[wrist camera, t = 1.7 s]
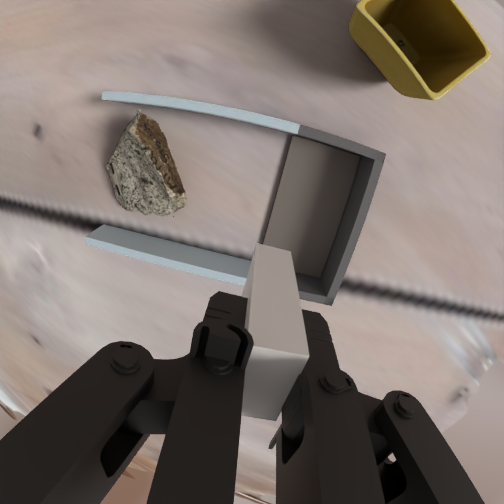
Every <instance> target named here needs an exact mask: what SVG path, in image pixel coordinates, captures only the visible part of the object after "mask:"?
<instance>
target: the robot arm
mask: <svg viewBox="0 0 504 504" xmlns="http://www.w3.org/2000/svg"><path fill="white" fill-rule="evenodd" d="M281 411H282V424H281V425H280V427H279V429H278V430H277V432H276V434H275V435H274V437H273V439H272V440H271V442H270V445H269V448H268V449H272V448H273V447H274V445H275V444H276V504H485V503H484V502H483V500H482V499H481V497H480V495H479V493H478V492H477V490H476V488H475V487H474V485H473V483H472V482H471V480H470V479H469V477H468V475H467V473H466V472H465V470H464V469H463V467H462V466H461V464H460V462H459V461H458V459H457V458H456V456H455V454H454V453H453V451H452V450H451V448H450V447H449V445H448V444H447V442H446V441H445V439H444V437H443V436H442V434H441V433H440V431H439V430H438V428H437V427H436V425H435V424H434V422H433V421H432V419H431V418H430V416H429V415H428V413H427V412H426V411H425V409H424V408H423V406H422V405H421V403H420V402H419V401H418V400H417V399H416V398H415V397H413V396H412V395H410V394H409V393H406V392H403V391H391V392H389V393H387V395H386V396H385V397H384V399H383V400H379V399H376V398H373V397H371V396H368V395H365V394H362V393H360V392H358V390H357V387H356V385H355V383H354V381H353V379H352V378H351V377H350V376H349V375H348V374H347V373H345V372H343V371H342V370H340V368H339V364H338V360H337V356H336V353H335V349H334V345H333V342H332V338H331V334H330V331H329V327H328V324H327V322H326V320H325V319H324V318H323V317H322V316H321V314H320V313H317V312H312V311H308V310H303V309H301V303H300V298H299V292H298V287H297V281H296V276H295V271H294V265H293V260H292V255H291V251H287V250H283V249H279V248H275V247H271V246H267V245H263V244H259V243H256V246H255V250H254V253H253V257H252V261H251V264H250V268H249V272H248V276H247V279H246V283H245V287H244V290H243V294H242V297H241V296H237V295H232V294H228V293H224V292H220V291H219V292H217V293H216V294H214V295H213V296H212V297H210V300H209V303H208V306H207V309H206V313H205V316H204V319H203V322H201V323H198V325H197V326H196V327H195V329H194V332H193V338H192V343H191V349H190V353H189V354H187V355H186V356H184V357H181V358H177V359H169V360H163V359H154V358H153V357H152V355H151V354H150V352H149V351H148V350H146V349H145V348H144V347H142V346H141V345H138V344H135V343H133V342H124V341H119V342H114V343H110V344H108V345H107V346H105V347H103V348H102V349H101V350H99V351H98V352H97V353H96V354H95V355H94V356H93V357H91V358H90V359H89V360H88V361H87V362H86V363H85V364H83V365H82V366H81V367H80V368H79V369H78V370H77V371H75V372H74V373H73V374H72V375H71V376H70V377H69V378H68V379H67V380H65V381H64V382H63V383H62V384H61V385H60V386H59V387H58V388H56V389H55V390H54V391H53V392H52V393H51V394H50V395H49V396H48V397H46V398H45V399H44V400H43V401H42V402H41V403H40V404H39V405H38V406H37V407H35V408H34V409H33V410H32V411H31V412H30V413H29V414H28V415H27V416H26V417H25V418H24V419H22V420H21V422H19V423H18V424H17V425H16V426H15V427H14V428H13V429H12V430H11V431H10V432H8V433H7V434H6V435H5V436H4V437H3V438H2V439H1V440H0V504H100V503H101V501H102V500H103V499H104V497H105V496H106V495H107V493H108V492H109V491H110V489H111V488H112V486H113V485H114V484H115V482H116V481H117V480H118V478H119V477H120V476H121V474H122V473H123V472H124V470H125V469H126V467H127V466H128V465H129V463H130V462H131V460H132V459H133V458H134V456H135V455H136V454H137V452H138V451H139V449H140V448H141V447H142V445H143V444H144V442H145V441H146V440H147V438H148V437H149V435H150V434H166V435H165V439H164V442H163V446H162V449H161V453H160V456H159V460H158V463H157V467H156V471H155V474H154V478H153V481H152V485H151V489H150V493H149V496H148V500H147V504H233V502H234V491H235V480H236V469H237V458H238V447H239V436H240V425H241V415H242V416H248V417H254V418H260V419H267V420H273V421H276V420H277V418H278V416H279V414H280V413H281ZM392 452H393V454H394V456H395V458H396V461H395V462H392V461H390V460H389V459H388V456H389V455H390V454H391V453H392Z"/></svg>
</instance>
